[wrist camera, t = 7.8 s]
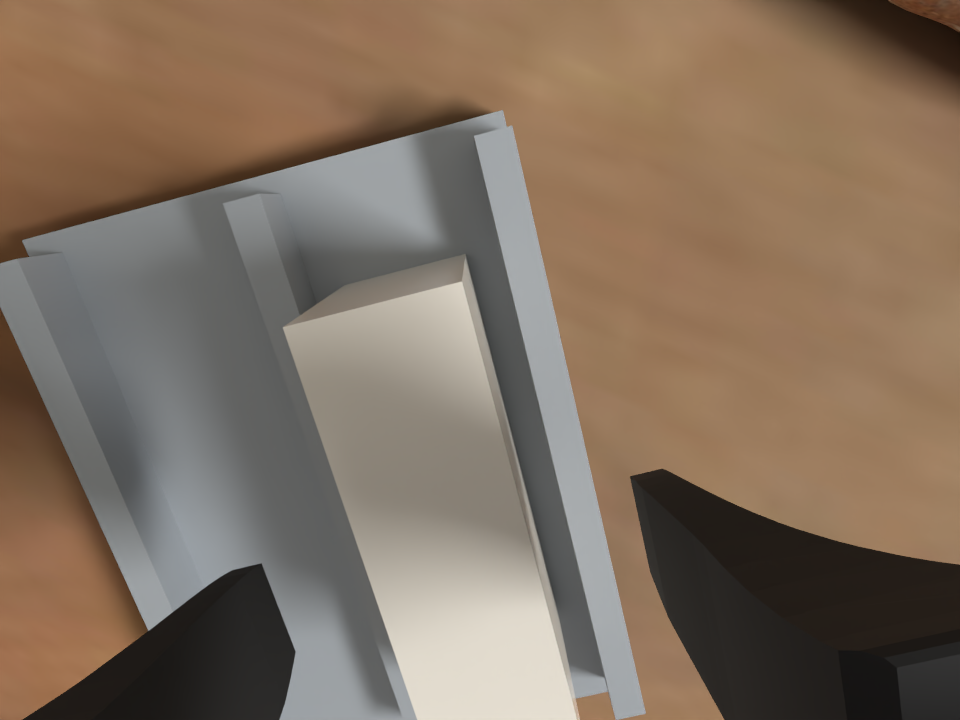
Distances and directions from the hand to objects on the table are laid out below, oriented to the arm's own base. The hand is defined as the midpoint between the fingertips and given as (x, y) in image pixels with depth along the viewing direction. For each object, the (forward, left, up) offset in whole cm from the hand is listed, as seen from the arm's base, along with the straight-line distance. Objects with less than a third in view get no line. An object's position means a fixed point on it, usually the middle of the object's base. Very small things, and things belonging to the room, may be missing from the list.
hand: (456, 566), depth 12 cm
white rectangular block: (0, 0, -5) cm, 5 cm away
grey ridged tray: (0, +3, -6) cm, 6 cm away
